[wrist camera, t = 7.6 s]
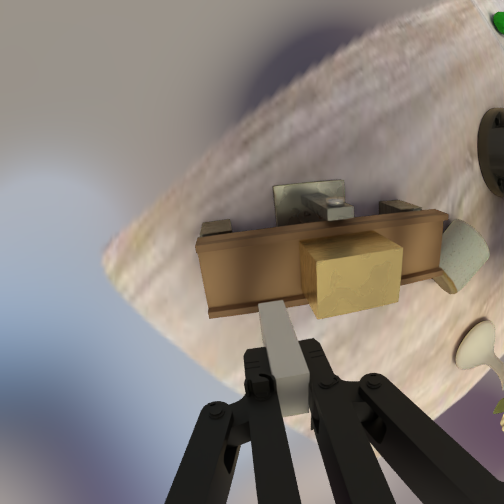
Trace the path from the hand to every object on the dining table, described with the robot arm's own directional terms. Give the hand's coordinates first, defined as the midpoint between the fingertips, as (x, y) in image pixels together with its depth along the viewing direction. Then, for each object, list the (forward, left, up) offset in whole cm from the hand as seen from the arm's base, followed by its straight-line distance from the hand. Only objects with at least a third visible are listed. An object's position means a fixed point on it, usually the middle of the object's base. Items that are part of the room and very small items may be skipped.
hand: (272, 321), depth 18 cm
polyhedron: (-50, -36, -17) cm, 64 cm away
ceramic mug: (-29, +6, -17) cm, 34 cm away
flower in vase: (-41, +27, -17) cm, 52 cm away
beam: (-7, 0, -8) cm, 11 cm away
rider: (-7, 0, -8) cm, 10 cm away
